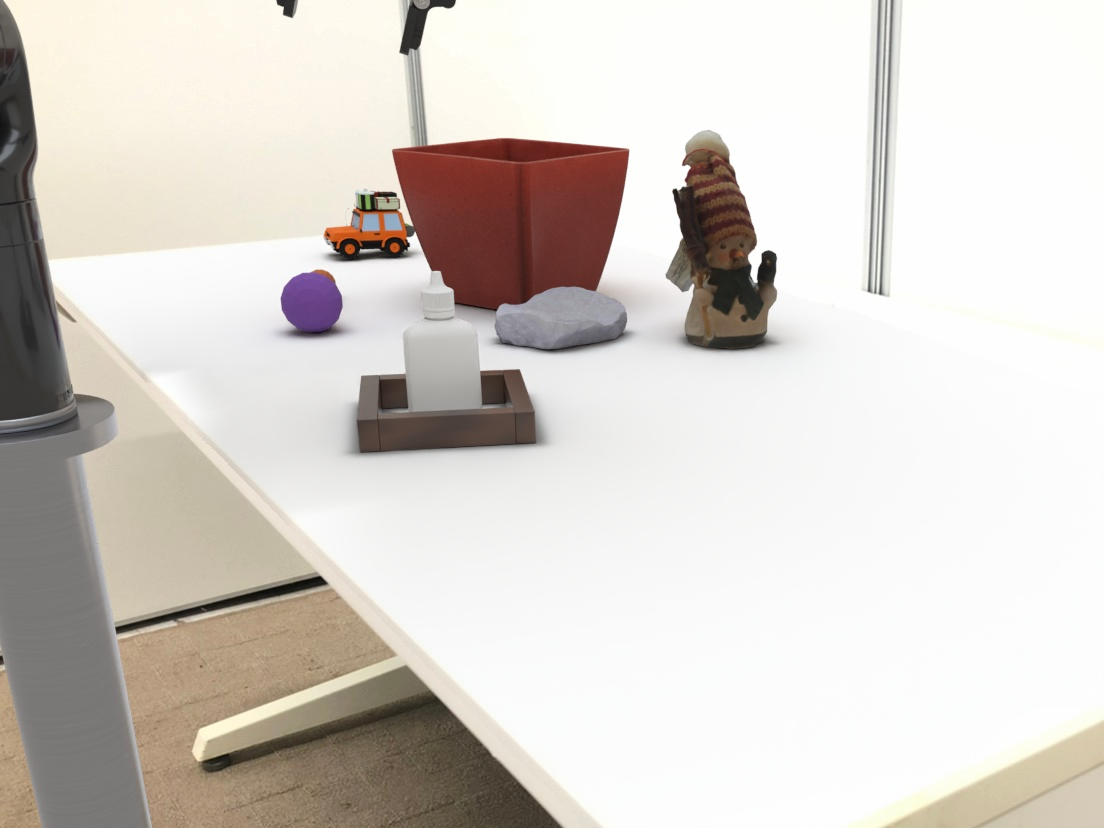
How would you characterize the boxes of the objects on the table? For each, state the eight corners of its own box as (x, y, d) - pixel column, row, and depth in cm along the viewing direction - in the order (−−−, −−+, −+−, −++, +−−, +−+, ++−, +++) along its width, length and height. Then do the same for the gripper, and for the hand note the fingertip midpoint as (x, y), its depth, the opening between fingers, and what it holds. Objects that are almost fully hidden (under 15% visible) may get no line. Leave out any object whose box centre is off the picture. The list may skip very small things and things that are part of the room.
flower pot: (529, 325, 134) (522, 160, 128) (399, 303, 143) (386, 147, 137) (635, 297, 149) (634, 147, 143) (512, 278, 158) (505, 137, 152)
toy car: (423, 256, 172) (418, 189, 169) (334, 262, 166) (327, 192, 163) (408, 248, 177) (403, 183, 174) (321, 254, 172) (314, 186, 168)
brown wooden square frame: (359, 452, 94) (356, 419, 93) (363, 404, 105) (360, 375, 104) (536, 442, 97) (534, 411, 96) (521, 397, 108) (519, 368, 107)
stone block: (634, 348, 133) (559, 317, 136) (640, 305, 130) (563, 275, 134) (565, 376, 123) (486, 342, 127) (570, 330, 121) (489, 297, 125)
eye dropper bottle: (420, 414, 103) (409, 265, 99) (488, 417, 103) (479, 268, 98) (403, 429, 99) (390, 275, 95) (473, 432, 99) (463, 278, 94)
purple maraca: (350, 262, 144) (344, 280, 126) (345, 314, 146) (338, 340, 127) (295, 253, 142) (281, 270, 124) (290, 306, 144) (275, 331, 126)
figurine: (632, 345, 127) (629, 135, 119) (671, 320, 138) (671, 127, 130) (762, 356, 124) (767, 141, 116) (791, 330, 135) (798, 132, 127)
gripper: (494, -168, 92) (444, 50, 101) (292, -247, 88) (257, -12, 97) (491, -151, 86) (438, 79, 95) (274, -234, 82) (239, 15, 91)
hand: (347, 33), depth 96 cm, fingers open, 8 cm apart
